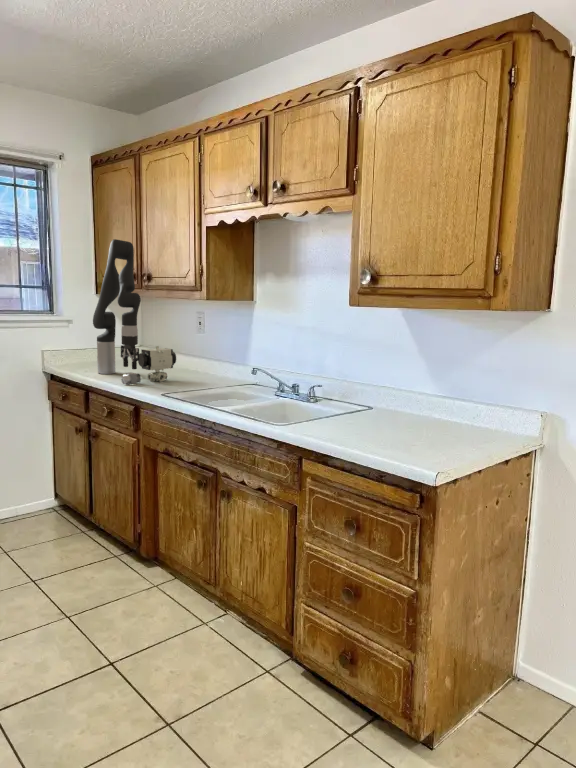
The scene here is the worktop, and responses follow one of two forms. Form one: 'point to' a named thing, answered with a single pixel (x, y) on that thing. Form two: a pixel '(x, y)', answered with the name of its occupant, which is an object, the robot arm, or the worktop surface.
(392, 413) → the worktop surface
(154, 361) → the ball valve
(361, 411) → the worktop surface
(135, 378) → the coupling
